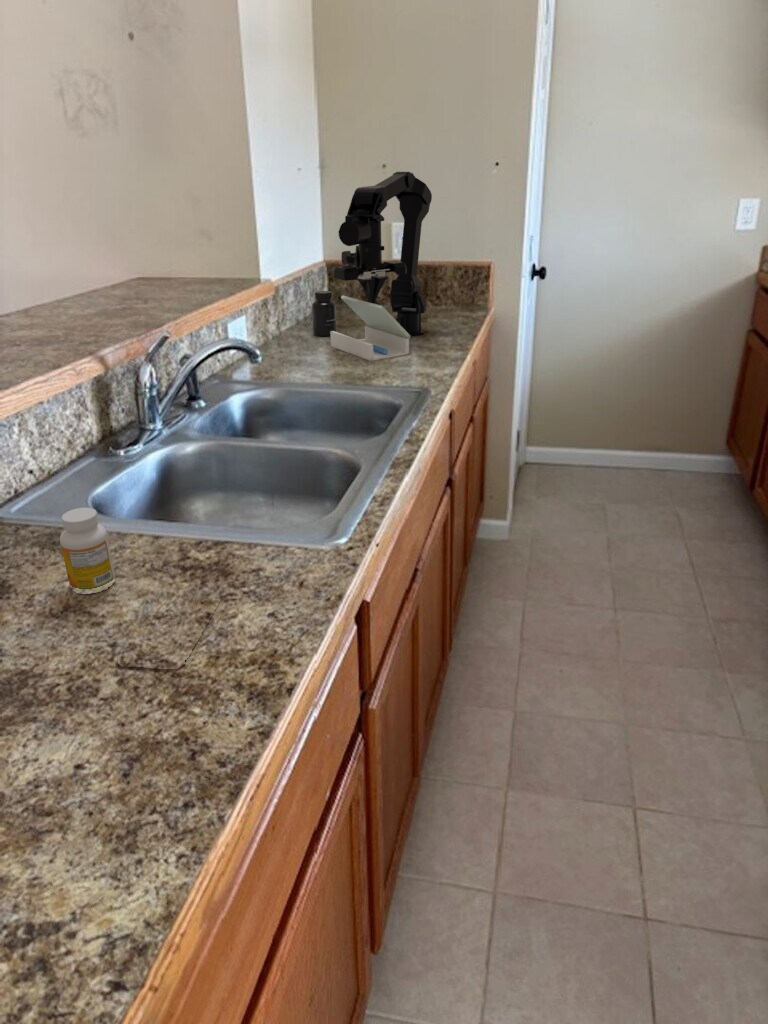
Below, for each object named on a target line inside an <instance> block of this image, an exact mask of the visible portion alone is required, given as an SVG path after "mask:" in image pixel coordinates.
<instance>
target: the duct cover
mask: <svg viewBox="0 0 768 1024" xmlns="http://www.w3.org/2000/svg"><path fill="white" fill-rule="evenodd" d="M340 298H341V300H342V301H343V302H344V303H345V304H346V305H347V306H348V307H349V308H350V309H352V310H353V312H354V313H355V314H356V315H357V316H358V317H359V318H360V319H361V320H362V321H363V322H364V323H365V324H366V326H370V327H373V328H376V329H380V330H383V331H386V332H389V333H392V334H396V335H399V336H402V337H405V338H408V339H409V340H410V339H411V336H410V335H409V334H408V333H407V332H406V330H405V329H404V328H403V327H402V326H401V325H400V324H399V323H398V322H397V321H396V318H395V317H393V316H392V315H391V313H389V311H388V310H387V309H386V308H385V307H384V306H383V305H379V304H376V303H374V304H373V303H369V302H368V301H366V300H362V299H359V298H355V297H350V296H346V295H341V297H340Z"/></svg>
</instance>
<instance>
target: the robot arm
mask: <svg viewBox="0 0 768 1024" xmlns="http://www.w3.org/2000/svg"><path fill="white" fill-rule="evenodd" d="M394 197H395V199H397V201H398V203H399V210H400V213H401V215H402V218H403V230H402V239H401V240H402V242H401V252H400V261H398V260H387V261H383V260H382V259H383V256H382V251H385V245H382V222H384V221H385V217H384V216H383V215H382V214H381V213H382V212H383V211H384V210H385V209H386V207H387V206H388V201H390V200H391V199H393V198H394ZM432 197H433V196H432V191H431V190H430V188H429V187H428V185H427V183H425V182H424V181H422V180H420V179H419V178H418V177H416V176H415V174H414V173H413V172H410V171H396V172H393V174H392V175H391V176H389V177H387V178H385V179H384V180H382V181H380V182H379V183H377V184H375V185H370V186H369V185H368V186H361V187H357V188H356V189H355V190H354V193H353V194H352V198H351V200H350V205H349V207H348V209H347V210H348V211H347V214H346V215H345V217H344V222H342V223H341V224H340V226H339V230H338V237H339V240H340V242H341V243H342V244H343V245H345V246H347V247H352V246H355V252H351V250H344V251H342V252H341V263H342V265H341V266H340V265H339V266H335V267H336V268H335V269H334V271H333V277H334V279H337V280H341V281H345V282H347V281H354V280H355V281H358V283H360V285H361V288H362V289H363V291H364V294H365V298H366V299H367V302H369V303H373V304H376V301H377V298H378V296H379V294H380V291H381V290H382V287H383V285H384V283H385V282H386V281H387V280H389V276H386V273H393V272H394V274H395V275H397V276H396V278H395V279H392V281H391V284H390V285H391V287H390V293H389V299H390V305H391V309H392V312H393V313H396V316H397V317H396V318H395V320H396V321H397V322H398V323H399V324H400V325H401V326H402V327H403V328H404V329H405V330H406V332H407V333H408V334H409V335H410V336H416V335H423V334H425V331H422V314H425V313H426V312H427V307H428V306H427V302H426V300H425V297H423V294H422V285H421V282H420V281H419V280H420V279H419V278H418V274H417V273H418V264H419V255H420V254H419V253H420V247H421V246H420V245H421V233H422V225H423V221H424V219H425V218H426V216H428V213H429V211H430V208H431V207H430V206H431V203H432V200H433V199H432ZM382 261H383V262H382Z"/></svg>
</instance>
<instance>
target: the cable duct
mask: <svg viewBox="0 0 768 1024" xmlns="http://www.w3.org/2000/svg"><path fill="white" fill-rule="evenodd" d="M329 337H330V346H331V347H332V348H335V349H338V350H340V351H342V352H345V353H348V354H351V355H354V356H356V357H359V358H360V359H363V360H366V361H369V362H372V361H378V360H379V361H380V360H384V359H389V358H395V357H399V356H406V355H409V354H410V339H409V338H406V337H403V336H400V335H396V334H393V333H390V332H387V331H384V330H380V329H377V328H374V327H371V326H368V325H365V326H364V338H360V339H358V338H354V337H353V336H349V335H346V334H343V333H341V332H338V331H336V332H335V331H330V336H329Z"/></svg>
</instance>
